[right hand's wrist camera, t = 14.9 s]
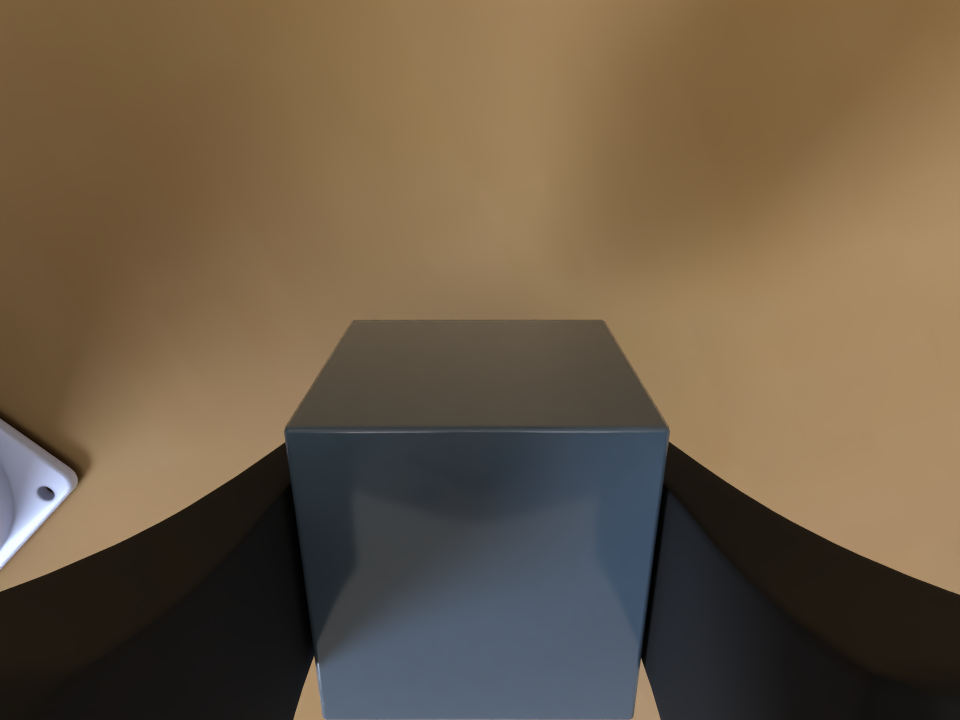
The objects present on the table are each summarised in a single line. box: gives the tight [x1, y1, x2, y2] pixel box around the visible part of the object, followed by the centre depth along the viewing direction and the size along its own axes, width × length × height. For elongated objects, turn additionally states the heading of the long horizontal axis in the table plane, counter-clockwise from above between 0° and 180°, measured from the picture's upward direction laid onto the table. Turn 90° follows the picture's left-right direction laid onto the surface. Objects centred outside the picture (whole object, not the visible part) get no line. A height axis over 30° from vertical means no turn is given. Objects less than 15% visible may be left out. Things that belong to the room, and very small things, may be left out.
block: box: [284, 320, 670, 720], centre depth 10 cm, size 5×5×4 cm
